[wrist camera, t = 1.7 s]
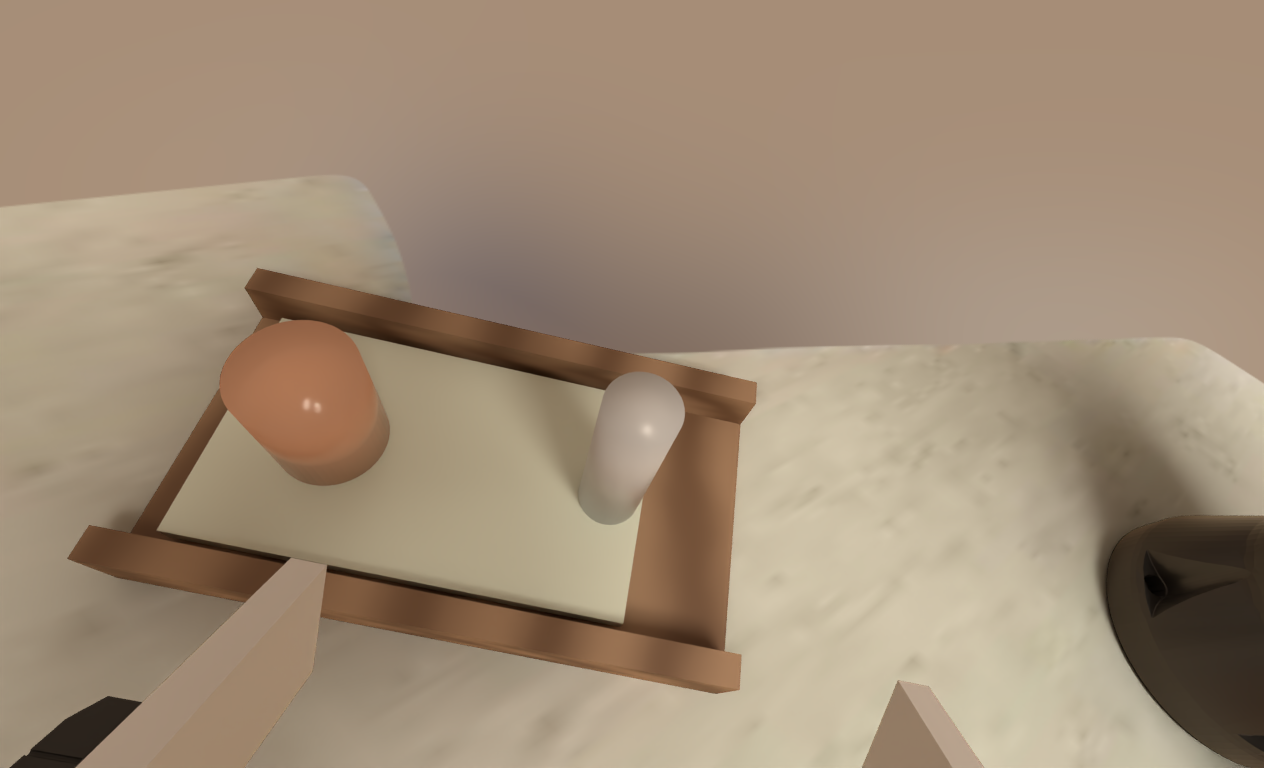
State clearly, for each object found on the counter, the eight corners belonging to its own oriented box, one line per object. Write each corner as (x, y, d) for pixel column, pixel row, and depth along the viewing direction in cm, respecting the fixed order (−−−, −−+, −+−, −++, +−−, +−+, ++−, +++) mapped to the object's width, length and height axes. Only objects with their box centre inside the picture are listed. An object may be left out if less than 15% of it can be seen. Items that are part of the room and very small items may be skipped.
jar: (400, 466, 33) (373, 410, 27) (283, 500, 31) (226, 448, 25) (378, 377, 36) (349, 308, 30) (268, 404, 34) (213, 336, 28)
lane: (737, 410, 42) (756, 382, 38) (716, 693, 33) (739, 689, 29) (279, 307, 40) (257, 267, 36) (117, 577, 31) (67, 558, 27)
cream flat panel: (654, 410, 39) (704, 296, 29) (619, 626, 32) (669, 579, 22) (288, 328, 38) (201, 177, 27) (168, 537, 31) (-10, 439, 20)
